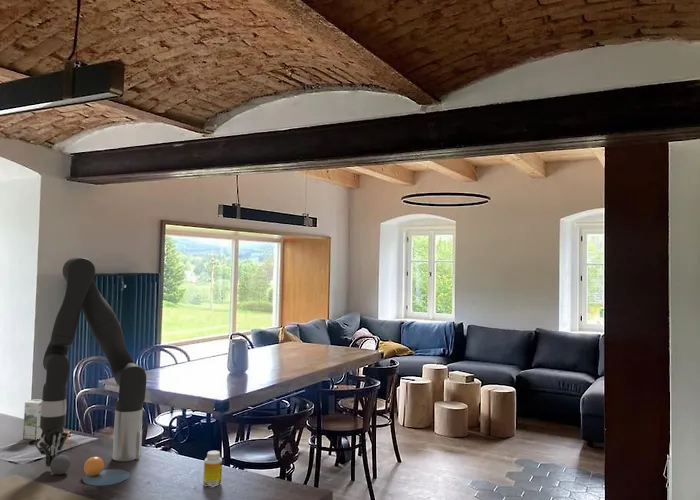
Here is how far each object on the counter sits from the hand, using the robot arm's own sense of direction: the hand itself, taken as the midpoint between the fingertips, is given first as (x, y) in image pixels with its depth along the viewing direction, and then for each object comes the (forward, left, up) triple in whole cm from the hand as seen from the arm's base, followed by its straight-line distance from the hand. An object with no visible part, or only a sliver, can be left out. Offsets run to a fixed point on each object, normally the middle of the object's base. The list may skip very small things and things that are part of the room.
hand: (50, 465), depth 187 cm
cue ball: (-4, +4, +2) cm, 6 cm away
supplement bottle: (-52, +20, -2) cm, 56 cm away
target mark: (-19, +9, -2) cm, 21 cm away
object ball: (-15, +7, +2) cm, 16 cm away
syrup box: (+16, -38, -2) cm, 41 cm away
